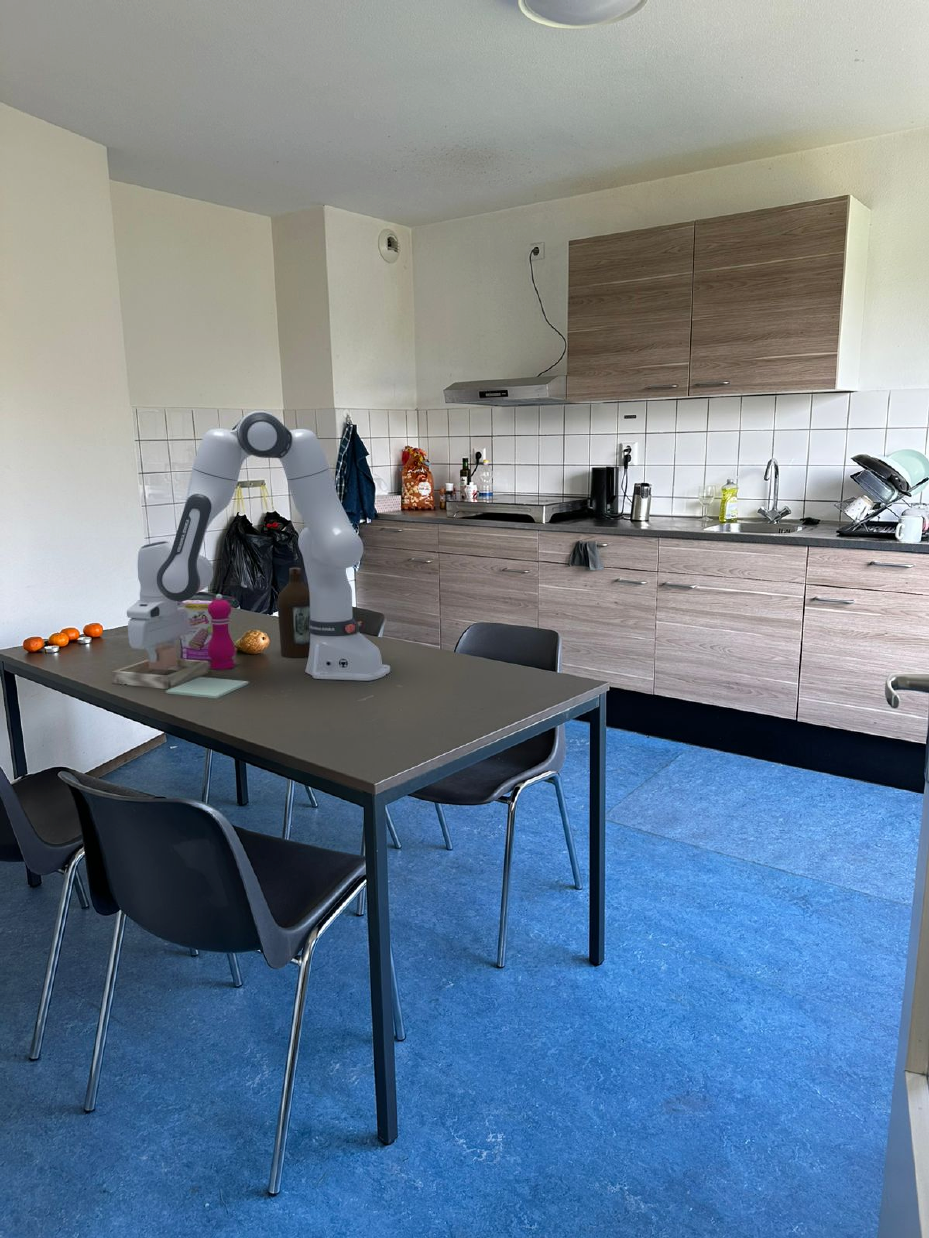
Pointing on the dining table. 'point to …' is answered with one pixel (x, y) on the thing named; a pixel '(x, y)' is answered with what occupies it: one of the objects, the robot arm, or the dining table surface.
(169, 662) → the cube
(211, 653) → the pepper mill
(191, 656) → the candy bar box
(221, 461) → the robot arm
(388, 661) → the dining table surface
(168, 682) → the cubby frame
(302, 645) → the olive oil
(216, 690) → the mat
